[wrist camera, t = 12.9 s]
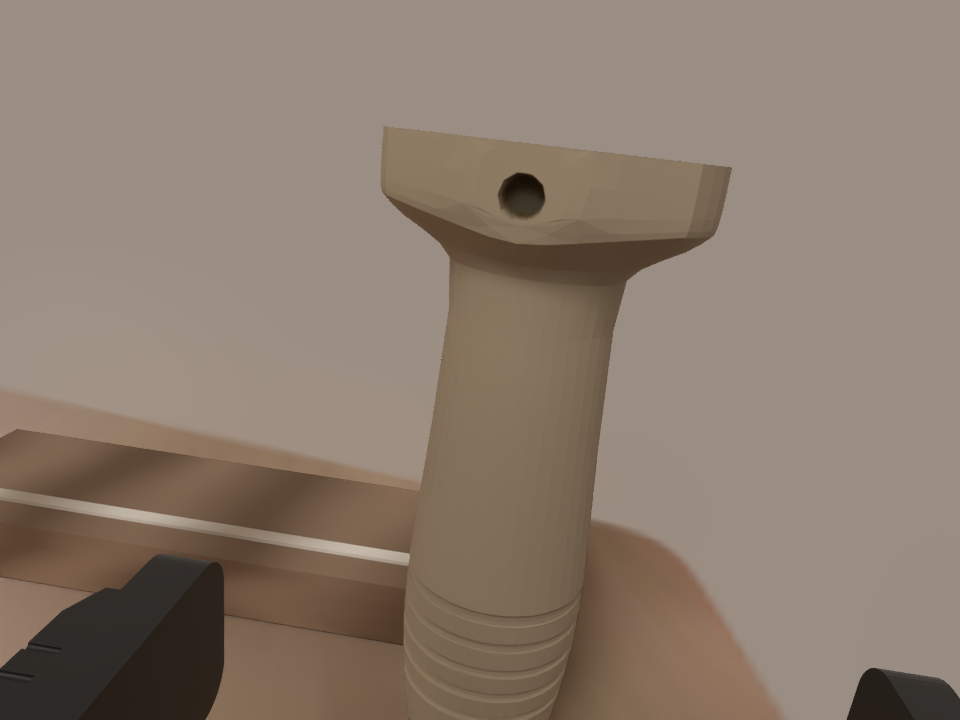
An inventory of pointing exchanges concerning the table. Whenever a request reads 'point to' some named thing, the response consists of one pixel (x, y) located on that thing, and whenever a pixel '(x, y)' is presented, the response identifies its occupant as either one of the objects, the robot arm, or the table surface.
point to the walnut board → (208, 530)
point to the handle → (521, 396)
